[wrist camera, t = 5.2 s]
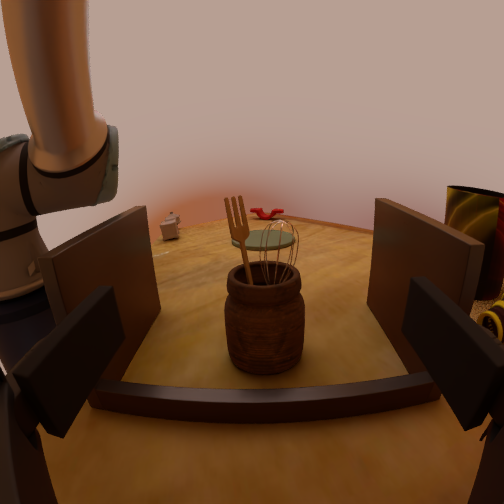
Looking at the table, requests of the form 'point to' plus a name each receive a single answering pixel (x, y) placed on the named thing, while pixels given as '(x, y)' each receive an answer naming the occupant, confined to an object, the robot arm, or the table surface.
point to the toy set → (170, 226)
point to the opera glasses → (494, 319)
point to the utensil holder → (262, 306)
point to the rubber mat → (272, 243)
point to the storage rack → (262, 400)
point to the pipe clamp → (263, 215)
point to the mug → (480, 231)
